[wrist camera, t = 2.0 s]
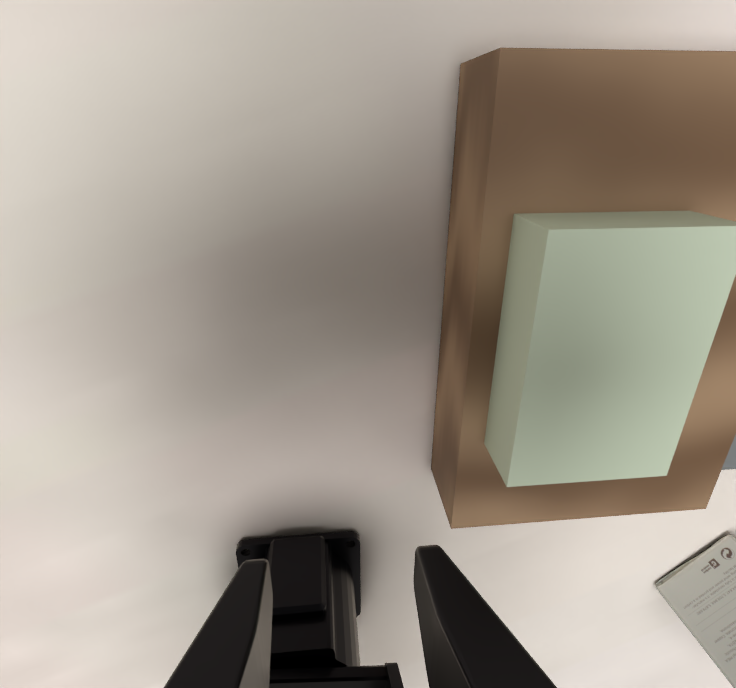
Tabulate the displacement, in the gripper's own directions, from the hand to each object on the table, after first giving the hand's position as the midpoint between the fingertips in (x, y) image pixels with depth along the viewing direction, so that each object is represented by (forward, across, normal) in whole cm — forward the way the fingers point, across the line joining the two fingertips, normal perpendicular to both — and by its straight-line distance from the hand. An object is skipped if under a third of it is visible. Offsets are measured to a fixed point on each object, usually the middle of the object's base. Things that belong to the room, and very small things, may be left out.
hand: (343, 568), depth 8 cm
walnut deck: (+13, -11, 0) cm, 17 cm away
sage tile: (+9, -9, 0) cm, 13 cm away
